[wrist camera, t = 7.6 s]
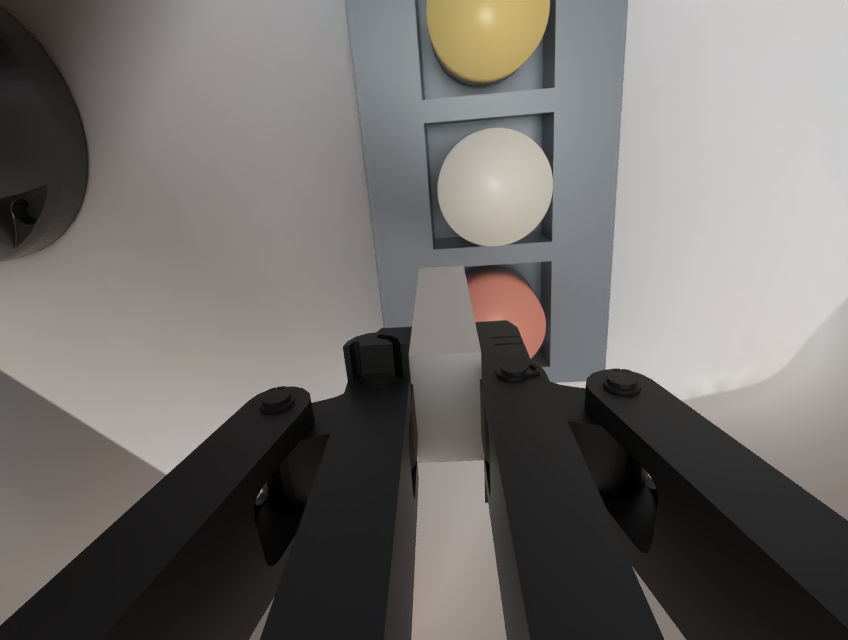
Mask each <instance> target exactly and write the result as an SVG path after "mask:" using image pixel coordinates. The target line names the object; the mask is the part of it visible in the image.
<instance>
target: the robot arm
mask: <svg viewBox="0 0 848 640" xmlns="http://www.w3.org/2000/svg"><path fill="white" fill-rule="evenodd" d="M86 175H87V156H86V146H85V139H84V134H83V130H82V126H81V122H80V119H79V115H78V113H77V110H76V107H75V104H74V102H73V100H72V97H71V95H70V93H69V91H68V89H67V87H66V84H65V83H64V81H63V79H62V77H61V75H60V74H59V72H58V70H57V69H56V67H55V66H54V64H53V63H52V61H51V60H50V58H49V57H48V56H47V54H46V53H45V51H44V50H43V49H42V48H41V46H40V45H39V44H38V43H37V42H36V40H35V39H34V38H33V37H32V36H31V35H30V34H29V33H28V32H27V31H26V30H25V29H24V28H23V27H22V26H21V25H20V24H19V23H18V22H17V21H16V20H15V19H14V18H13V17H12V16H11V15H9V14H8V13H7V12H6V11H4V10H3V9H2V8H1V7H0V262H3V261H7V260H10V259H14V258H18V257H22V256H25V255H29V254H32V253H34V252H37V251H39V250H41V249H43V248H45V247H46V246H48V245H50V244H51V243H52V242H54V241H55V240H56V239H57V238H59V237H60V236H61V235H62V234H63V233H64V231H65V230H66V229H67V228H68V227H69V225H70V224H71V222H72V221H73V219H74V217H75V215H76V213H77V211H78V209H79V207H80V204H81V201H82V198H83V194H84V190H85V184H86ZM343 351H344V358H345V365H346V371H347V378H348V383H347V386H346V389H345V392H344V394H342V395H340V396H337V397H334V398H331V399H327V400H323V401H318V402H314V403H311V398H310V394H309V392H307V391H306V390H305V389H303V388H298V387H285V386H282V387H277V388H276V387H275V388H272V389H269V390H267V391H265V392H263V393H260V394H258V395H256V396H255V397H254V398H252V399H251V400H249V401H248V402H247V403H246V404H245V405H244V406H242V407H241V408H240V409H239V410H238V411H237V412H236V413H235V414H234V415H233V416H231V417H230V418H229V419H228V420H227V421H226V422H225V423H224V424H223V425H221V426H220V427H219V428H218V429H217V430H216V431H215V432H214V433H213V434H212V435H210V436H209V437H208V438H207V439H206V440H205V441H204V442H203V443H202V444H200V445H199V446H198V447H197V448H196V449H195V450H194V451H193V452H192V453H191V454H189V455H188V456H187V457H186V458H185V459H184V460H183V461H182V462H181V463H179V464H178V465H177V466H176V467H175V468H174V469H173V470H172V471H171V472H170V473H168V474H167V475H166V476H165V477H164V478H163V479H162V480H161V481H160V482H159V483H157V484H156V485H155V486H154V487H153V488H152V489H151V490H150V491H149V492H147V494H145V495H144V496H143V497H142V498H141V499H140V500H139V501H138V502H137V503H135V504H134V505H133V506H132V507H131V508H130V509H129V510H128V511H127V512H125V513H124V514H123V515H122V516H121V517H120V518H119V519H118V520H117V521H115V522H114V523H113V524H112V525H111V526H110V527H109V528H108V529H107V530H105V531H104V532H103V533H102V534H101V535H100V536H99V537H98V538H97V539H96V540H94V542H92V543H91V544H90V545H89V546H88V547H87V548H86V549H85V550H83V551H82V552H81V553H80V554H79V555H78V556H77V557H76V558H75V559H73V560H72V561H71V562H70V563H69V564H68V565H67V566H66V567H65V568H63V569H62V570H61V571H60V572H59V573H58V574H57V575H56V576H55V577H54V578H52V579H51V580H50V581H49V582H48V583H47V584H46V585H45V586H44V587H43V588H42V589H40V590H39V591H38V592H37V593H36V594H35V595H34V596H33V597H32V598H30V599H29V600H28V601H27V602H26V603H25V604H24V605H23V606H22V607H20V608H19V609H18V610H17V611H16V612H15V613H14V614H13V615H12V616H11V617H9V618H8V619H7V620H6V621H5V622H4V623H3V624H2V625H1V626H0V640H249V638H250V636H251V635H252V633H253V631H254V630H255V628H256V626H257V625H258V623H259V621H260V620H261V618H262V616H263V615H264V613H265V611H266V610H267V608H268V606H269V605H270V603H271V601H272V600H273V598H274V600H273V603H272V606H271V609H270V612H269V615H268V618H267V621H266V623H265V626H264V629H263V632H262V635H261V638H260V640H411V632H412V631H411V630H412V610H413V588H414V565H415V545H416V544H415V542H416V522H417V500H418V479H419V478H418V466H417V455H418V462H419V463H420V462H446V461H471V460H484V471H485V502H486V503H488V504H489V511H490V518H491V526H492V533H493V540H494V548H495V555H496V563H497V570H498V577H499V584H500V591H501V599H502V606H503V614H504V621H505V629H506V636H507V640H664V638H663V636H662V633H661V631H660V629H659V627H658V625H657V622H656V620H655V618H654V615H653V613H652V611H651V609H650V606H649V604H648V602H647V600H646V597H645V595H644V593H643V591H642V588H641V586H640V584H639V582H638V579H637V577H636V575H635V572H634V570H633V568H634V569H635V571H636V572H637V573H638V575H639V576H640V577H641V579H642V580H643V581H644V583H645V584H646V585H647V587H648V588H649V590H650V591H651V592H652V594H653V595H654V596H655V598H656V599H657V600H658V602H659V603H660V604H661V606H662V607H663V608H664V610H665V611H666V613H667V614H668V615H669V617H670V618H671V619H672V621H673V622H674V623H675V624H676V626H677V627H678V629H679V630H680V631H681V633H682V634H683V636H684V637H685V638H686V640H848V521H847V520H846V519H845V518H843V517H842V516H840V515H839V514H838V513H836V512H835V511H834V510H832V509H831V508H829V507H828V506H826V505H825V504H824V503H822V502H821V501H820V500H818V499H817V498H815V497H814V496H813V495H811V494H810V493H809V492H807V491H806V490H804V489H803V488H802V487H800V486H799V485H797V484H796V483H795V482H793V481H792V480H790V479H789V478H788V477H786V476H785V475H784V474H782V473H781V472H779V471H778V470H777V469H775V468H774V467H772V466H771V465H770V464H768V463H767V462H765V461H764V460H763V459H761V458H760V457H759V456H757V455H756V454H754V453H753V452H751V451H750V450H749V449H747V448H746V447H745V446H743V445H742V444H741V443H739V442H738V441H736V440H735V439H734V438H732V437H731V436H729V435H728V434H727V433H725V432H724V431H722V430H721V429H720V428H718V427H717V426H715V425H714V424H713V423H711V422H710V421H708V420H707V419H706V418H704V417H703V416H701V415H700V414H699V413H697V412H696V411H695V410H693V409H692V408H691V407H689V406H688V405H686V404H685V403H684V402H682V401H681V400H679V399H678V398H677V397H675V396H674V395H672V394H671V393H670V392H668V391H667V390H666V389H664V388H663V387H661V386H660V385H659V384H657V383H656V382H654V381H653V380H652V379H650V378H648V377H646V376H644V375H642V374H639V373H635V372H632V371H630V370H626V369H622V370H620V369H609V370H601V371H598V372H595V373H592V374H591V375H590V376H589V377H588V378H587V381H586V388H578V387H570V386H564V385H559V384H556V383H553V382H550V381H549V379H548V376H547V374H546V372H545V371H544V369H543V368H542V367H541V366H539V365H537V364H535V363H533V362H532V361H531V359H530V357H529V354H528V352H527V349H526V347H525V344H524V342H523V339H522V337H521V335H520V332H519V330H518V327H517V326H515V325H514V324H512V323H510V322H509V321H507V320H501V321H483V322H475V319H474V314H473V309H472V304H471V299H470V294H469V290H468V285H467V280H466V275H465V270H464V266H450V267H433V268H419V273H418V282H417V290H416V298H415V307H414V315H413V323H412V327H396V328H382V329H380V330H379V331H378V332H376V333H368V334H364V335H361V336H357V337H355V338H353V339H351V340H349V341H347V343H346V344H345V345H344V346H343ZM648 474H649V475H650V476H651V478H652V479H651V478H650V477H649V476H648ZM261 489H262V490H263V492H262V493H261V495H260V496H259V497H258V498H257V496H258V494H259V492H260V490H261ZM256 498H257V499H256ZM631 565H632V566H631ZM632 567H633V568H632ZM274 596H275V597H274Z"/></svg>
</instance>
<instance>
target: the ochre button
mask: <svg viewBox="0 0 848 640" xmlns="http://www.w3.org/2000/svg"><path fill="white" fill-rule="evenodd" d="M549 11H550V0H427V6H426V16H427V24H428V30H429V35H430V40H431V44H432V48H433V51H434V53H435V56H436V58H437V60H438V62H439V63H440V65H441V66H442V67H443V69H444V70H445V71H446V72H447V73H448V74H449V75H450V76H452V77H453V78H454V79H456V80H458V81H460V82H462V83H464V84H467V85H471V86H489V85H493V84H496V83H499V82H501V81H503V80H505V79H507V78H508V77H510V76H511V75H512V74H513V73H515V72H516V71H517V70H518V69H519V67H520V66H521V65H522V64H523V63H524V62H525V61H526V60H527V59H528V58H529V57H530V56H531V55H532V53H533V52H534V51H535V49H536V48H537V46H538V44H539V43H540V41H541V39H542V37H543V34H544V32H545V29H546V26H547V23H548V18H549Z"/></svg>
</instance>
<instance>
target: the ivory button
mask: <svg viewBox="0 0 848 640" xmlns="http://www.w3.org/2000/svg"><path fill="white" fill-rule="evenodd" d="M552 193H553V176H552V170H551V167H550V164H549V161H548V159H547V157H546V155H545V154H544V152H543V151H542V149H541V148H540V147H539V146H538V145H537V143H536V142H534V141H533V140H532V139H531V138H529V137H528V136H526V135H525V134H523V133H520V132H518V131H515V130H512V129H507V128H489V129H484V130H481V131H478V132H475V133H472V134H470V135H468V136H466V137H465V138H463V139H462V140H460V141H459V142H458V143H457V144H456V145H455V146H454V147H453V148H452V149H451V151H450V152H449V153H448V155H447V157H446V158H445V160H444V163H443V165H442V168H441V171H440V175H439V179H438V201H439V205H440V209H441V211H442V214H443V216H444V218H445V220H446V221H447V223H448V224H449V225H450V227H451V228H452V229H453V230H454V231H455V232H456V233H457V234H458V235H460V236H461V237H462V238H464V239H466V240H468V241H470V242H472V243H475V244H478V245H482V246H503V245H507V244H511V243H513V242H516V241H518V240H520V239H522V238H523V237H525V236H526V235H528V234H529V233H530V232H531V231H532V230H534V229H535V228H536V227H537V225H538V224H539V223H540V222H541V220H542V219H543V217H544V216H545V214H546V212H547V210H548V208H549V205H550V202H551V198H552Z"/></svg>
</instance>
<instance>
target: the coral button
mask: <svg viewBox="0 0 848 640" xmlns="http://www.w3.org/2000/svg"><path fill="white" fill-rule="evenodd" d="M465 275H466V280H467V285H468V290H469V294H470V299H471V304H472V309H473V314H474V319H475V322H483V321H501V320H507V321H509V322H510V323H512V324H514V325H515V326H517V327H518V330H519V332H520V335H521V337H522V339H523V342H524V344H525V347H526V349H527V352H528V354H529V357H530V359H531V358H532V357H533V356H534V355H535V354H536V352H537V351H538V350H539V348H540V346H541V344H542V342H543V340H544V336H545V332H546V319H545V314H544V311H543V308H542V306H541V305H540V303H539V301H538V299H537V297H536V295H535V294H534V292H533V290H532V288H531V286H530V285H529V283H528V282H527V280H526V279H525V278H524V277H523V276H522V275H520V274H519V273H518V272H516V271H514V270H512V269H510V268H507V267H503V266H497V265H489V266H483V267H479V268H476V269H474V270H472V271H470V272H468V273H467V274H465Z"/></svg>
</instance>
